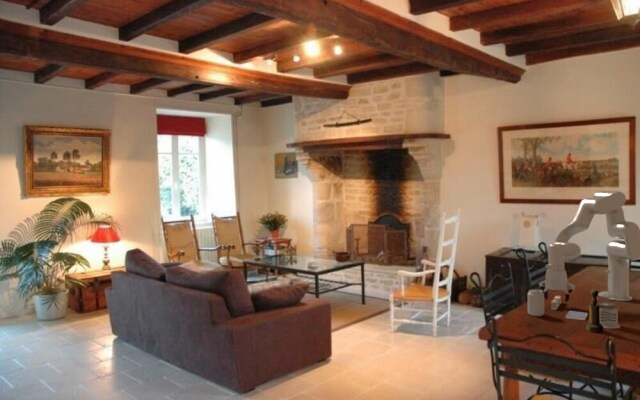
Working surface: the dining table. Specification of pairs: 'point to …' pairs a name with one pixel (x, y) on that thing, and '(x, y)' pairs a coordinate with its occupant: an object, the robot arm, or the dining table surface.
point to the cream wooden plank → (556, 302)
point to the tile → (576, 315)
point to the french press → (608, 310)
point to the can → (535, 303)
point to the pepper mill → (594, 314)
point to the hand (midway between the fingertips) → (556, 300)
